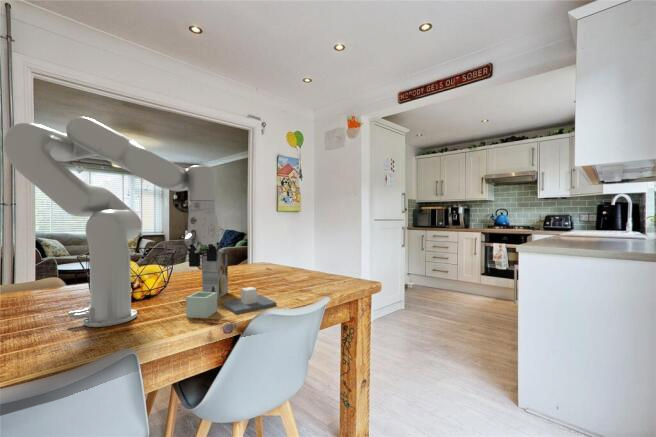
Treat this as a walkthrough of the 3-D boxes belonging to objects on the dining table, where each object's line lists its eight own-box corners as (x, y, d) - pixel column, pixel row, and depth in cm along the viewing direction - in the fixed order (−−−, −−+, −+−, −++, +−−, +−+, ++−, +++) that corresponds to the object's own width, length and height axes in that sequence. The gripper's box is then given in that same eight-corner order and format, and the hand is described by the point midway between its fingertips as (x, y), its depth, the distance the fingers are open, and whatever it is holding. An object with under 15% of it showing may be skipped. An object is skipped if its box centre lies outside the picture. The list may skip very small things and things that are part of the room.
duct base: (235, 314, 92) (235, 296, 92) (221, 304, 102) (221, 288, 102) (276, 305, 101) (276, 289, 101) (260, 297, 111) (260, 282, 110)
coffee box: (212, 292, 118) (211, 251, 118) (228, 292, 118) (228, 251, 118) (201, 299, 109) (201, 254, 109) (219, 299, 109) (219, 254, 109)
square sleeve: (206, 318, 89) (206, 297, 89) (186, 317, 90) (185, 297, 89) (217, 311, 95) (217, 292, 95) (198, 310, 96) (197, 291, 96)
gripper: (198, 206, 83) (199, 269, 83) (226, 207, 100) (228, 259, 100) (172, 207, 84) (174, 269, 84) (205, 207, 101) (206, 259, 101)
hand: (203, 263), depth 92 cm, fingers open, 9 cm apart
